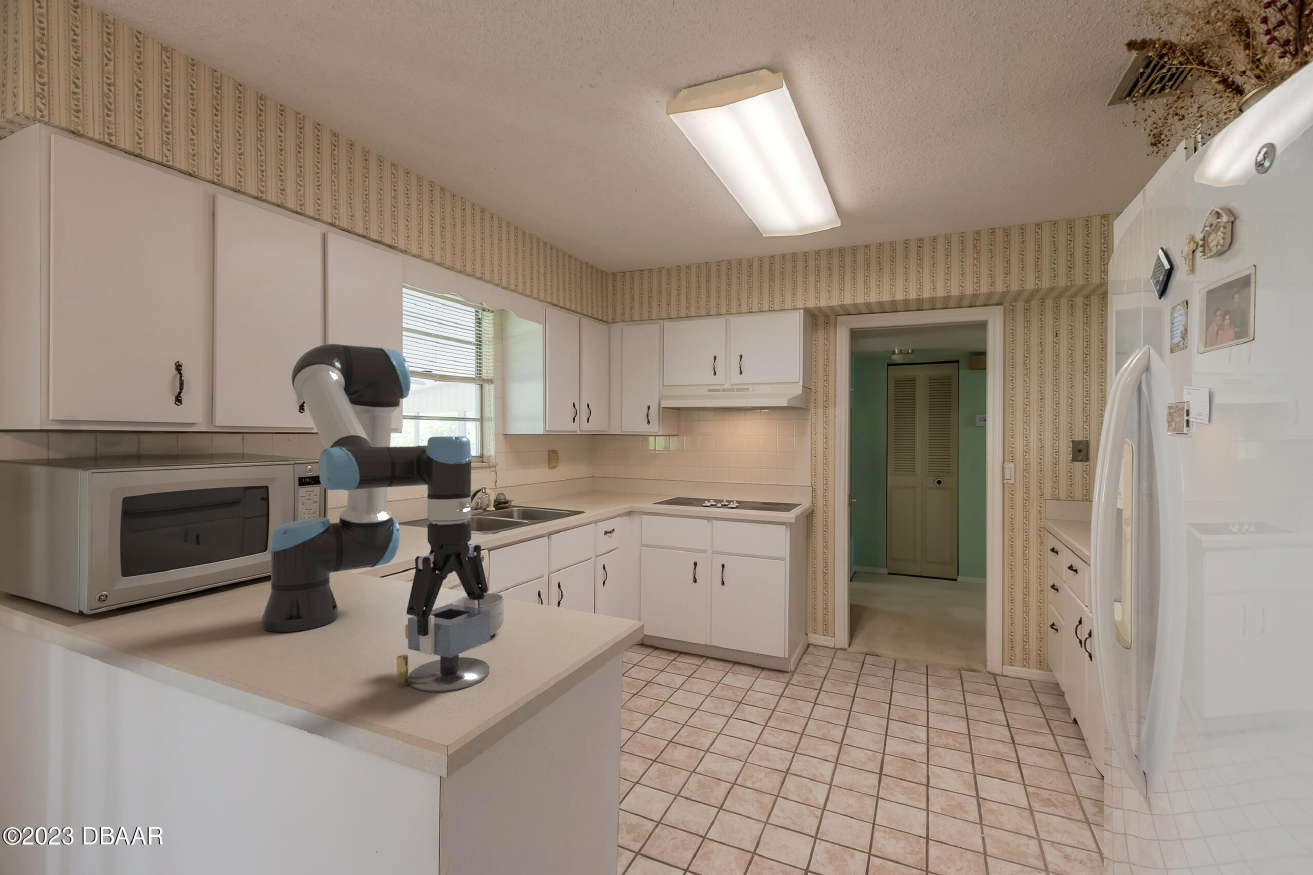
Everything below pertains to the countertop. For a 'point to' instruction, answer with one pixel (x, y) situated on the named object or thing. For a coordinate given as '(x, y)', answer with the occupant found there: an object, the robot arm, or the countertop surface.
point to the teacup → (494, 605)
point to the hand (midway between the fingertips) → (450, 642)
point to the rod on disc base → (448, 674)
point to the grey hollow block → (453, 629)
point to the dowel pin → (402, 670)
